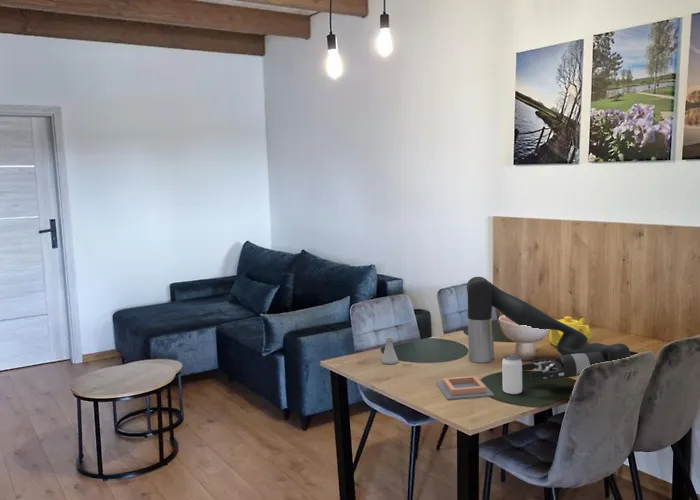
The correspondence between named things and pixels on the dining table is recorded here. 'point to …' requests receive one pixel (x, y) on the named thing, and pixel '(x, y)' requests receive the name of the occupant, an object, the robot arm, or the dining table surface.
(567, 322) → the teapot
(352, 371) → the dining table surface
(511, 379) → the can
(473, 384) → the tray
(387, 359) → the flask
